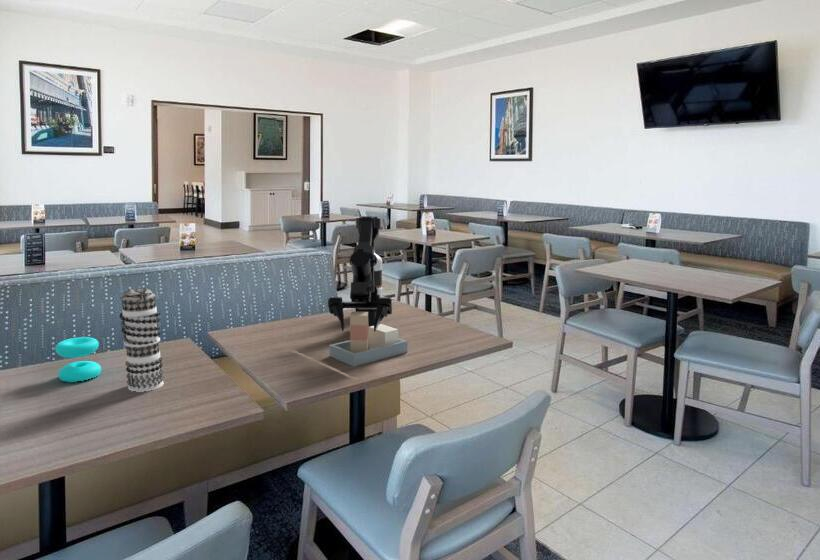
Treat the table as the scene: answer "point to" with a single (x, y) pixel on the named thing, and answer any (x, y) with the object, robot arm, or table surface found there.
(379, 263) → the vodka
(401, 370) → the table surface
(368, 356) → the tote
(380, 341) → the cream rectangular block
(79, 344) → the donuts
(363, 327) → the oat carton
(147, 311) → the decorative candle
